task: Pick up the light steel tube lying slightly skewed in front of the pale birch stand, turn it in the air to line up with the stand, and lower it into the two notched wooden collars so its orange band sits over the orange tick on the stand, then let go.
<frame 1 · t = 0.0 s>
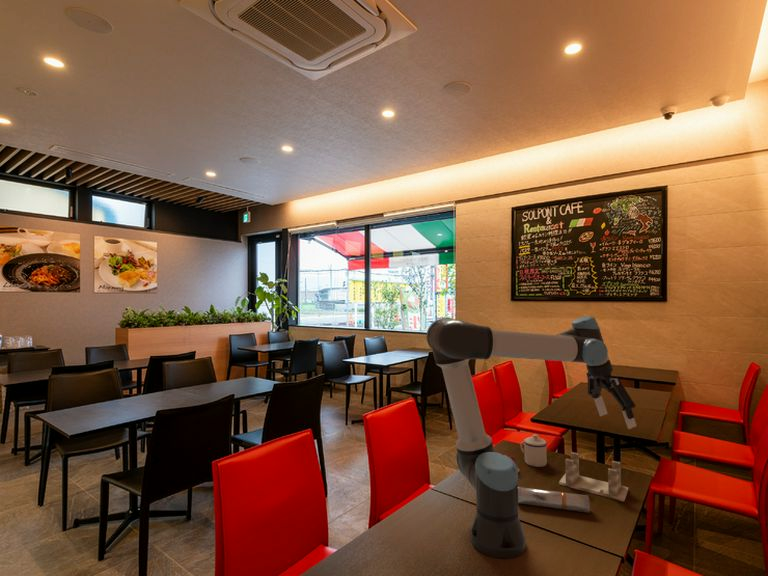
hand: (617, 420, 137), 28 cm above the table, tool tilted 20°, fingers open, 13 cm apart
collar stand: (593, 487, 148), on the table
teacup with lid: (532, 462, 172), on the table
apple: (508, 471, 164), on the table
steel tube: (552, 506, 135), on the table
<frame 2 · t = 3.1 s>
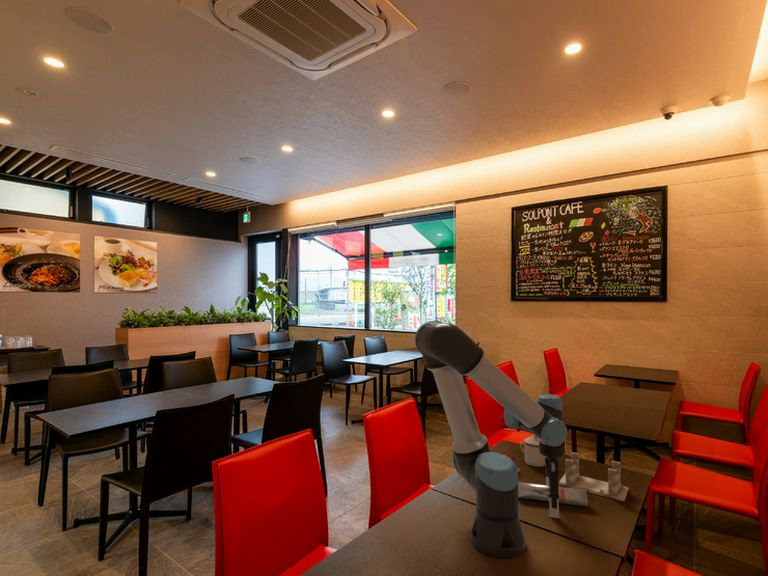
hand: (552, 506, 135), 0 cm above the table, tool pointing down, fingers open, 13 cm apart
steel tube: (551, 497, 137), point 3 cm above the table, tilted 91°, touching gripper
everything else where it was.
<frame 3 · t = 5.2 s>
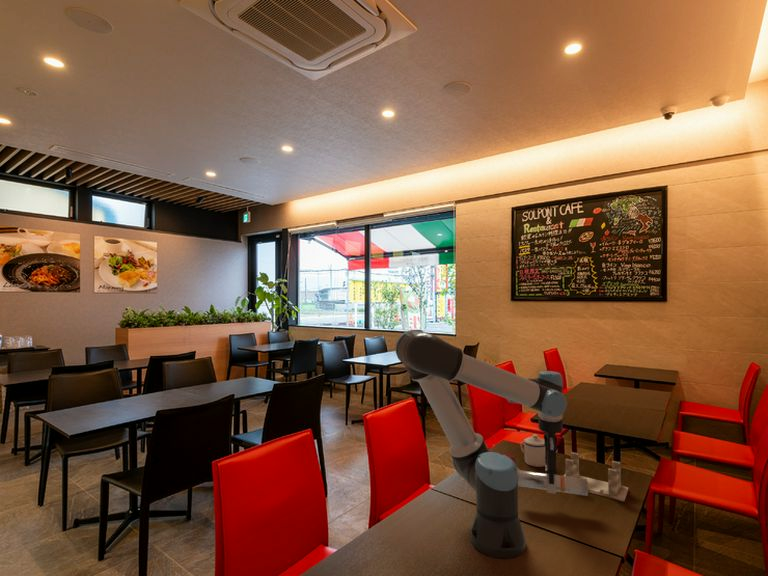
hand: (550, 488, 135), 6 cm above the table, tool pointing down, fingers closed on steel tube, 5 cm apart
steel tube: (550, 490, 134), point 6 cm above the table, tilted 26°, touching gripper
everything else where it was.
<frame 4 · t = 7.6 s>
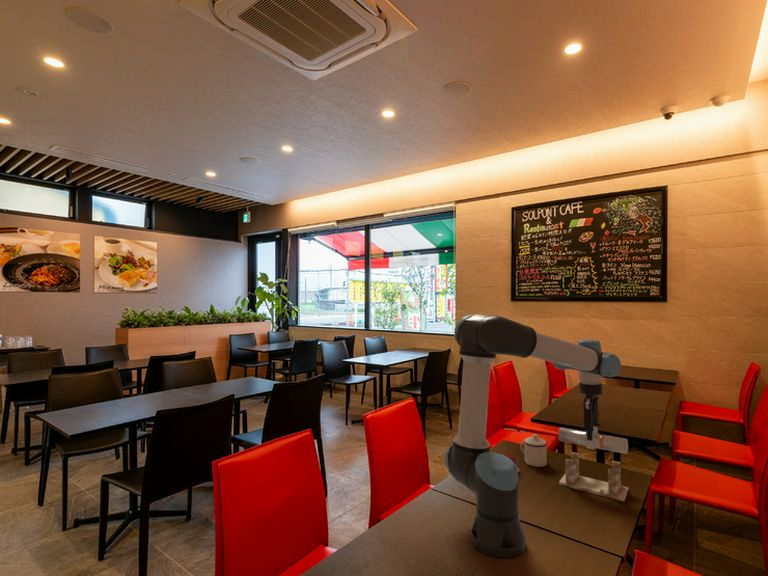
hand: (592, 446, 149), 15 cm above the table, tool pointing down, fingers closed on steel tube, 5 cm apart
steel tube: (591, 447, 148), point 15 cm above the table, tilted 25°, touching gripper
everything else where it was.
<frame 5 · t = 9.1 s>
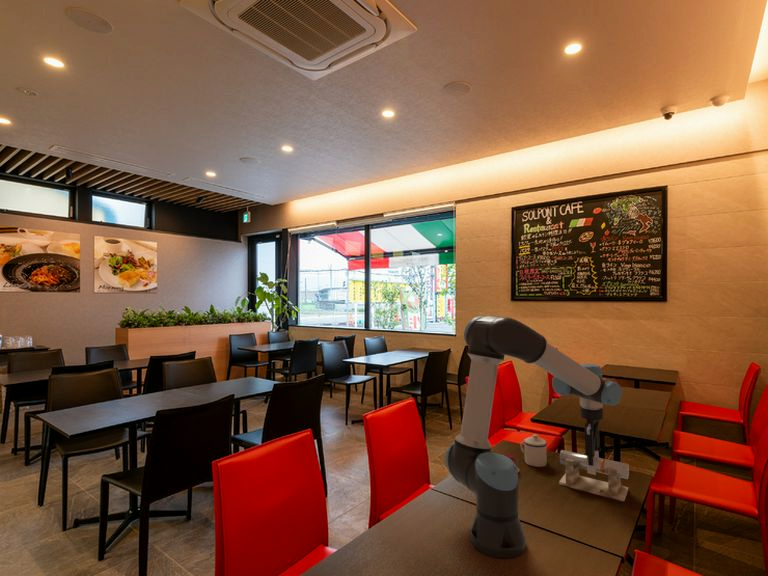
hand: (593, 470, 149), 6 cm above the table, tool pointing down, fingers closed on steel tube, 5 cm apart
steel tube: (592, 471, 148), point 6 cm above the table, tilted 26°, touching collar stand, gripper
everything else where it was.
when the fingers open (5 cm above the table, at t = 10.0 s): steel tube stays where it is, resting on collar stand.
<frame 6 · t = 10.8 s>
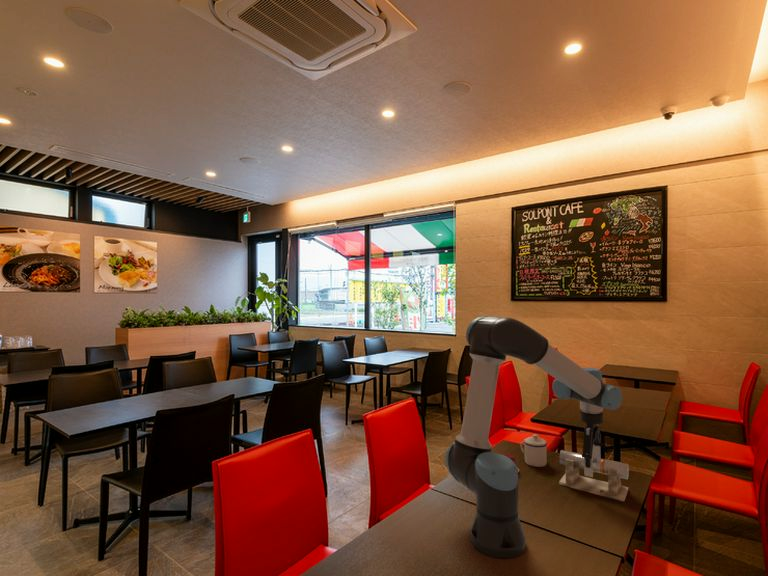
hand: (592, 469, 149), 7 cm above the table, tool pointing down, fingers open, 13 cm apart
steel tube: (592, 471, 148), point 6 cm above the table, tilted 20°, touching collar stand
everything else where it was.
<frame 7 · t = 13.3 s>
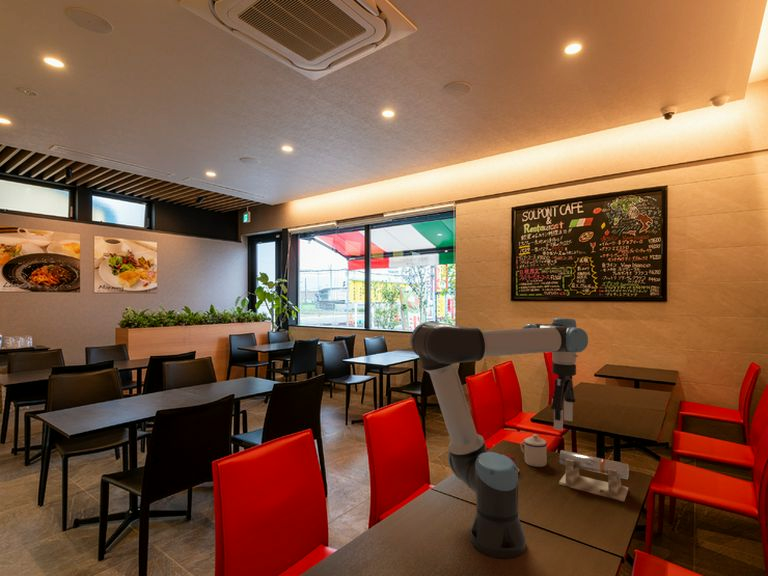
hand: (563, 424, 140), 26 cm above the table, tool pointing down, fingers open, 13 cm apart
nothing on the table moved.
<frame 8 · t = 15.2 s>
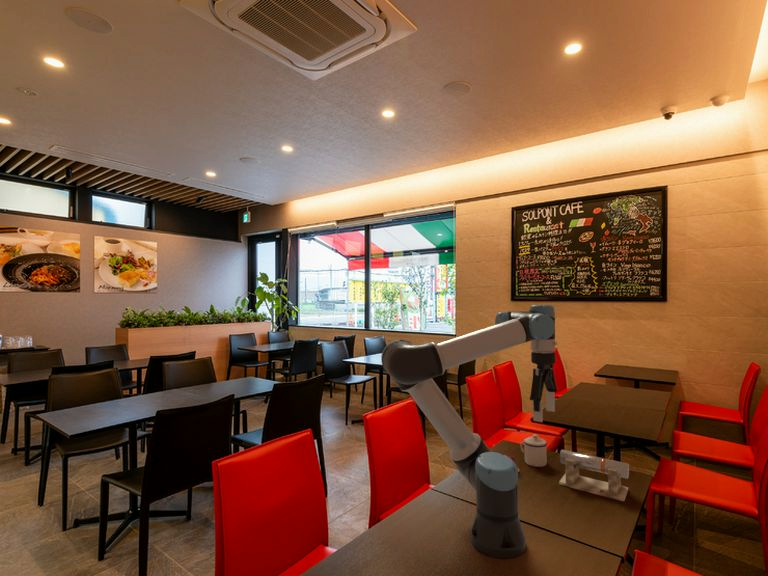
hand: (544, 416, 134), 31 cm above the table, tool pointing down, fingers open, 13 cm apart
steel tube: (592, 470, 148), point 6 cm above the table, tilted 36°, touching collar stand
everything else where it was.
at the end: steel tube 0.9 cm off-centre on the collar stand, point 6.5 cm above the collar stand's base; the gripper is holding nothing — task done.
